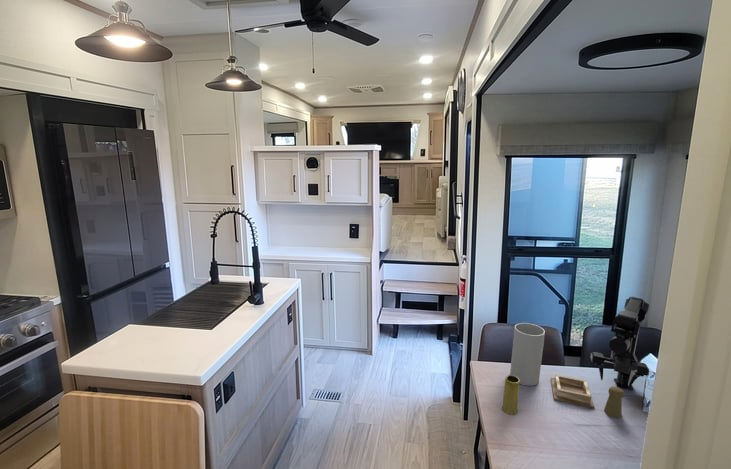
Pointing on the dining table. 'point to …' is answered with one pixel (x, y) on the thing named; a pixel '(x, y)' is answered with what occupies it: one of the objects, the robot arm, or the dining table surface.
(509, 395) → the vase
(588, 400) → the socket block
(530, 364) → the cylinder vase
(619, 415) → the cork
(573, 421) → the dining table surface
